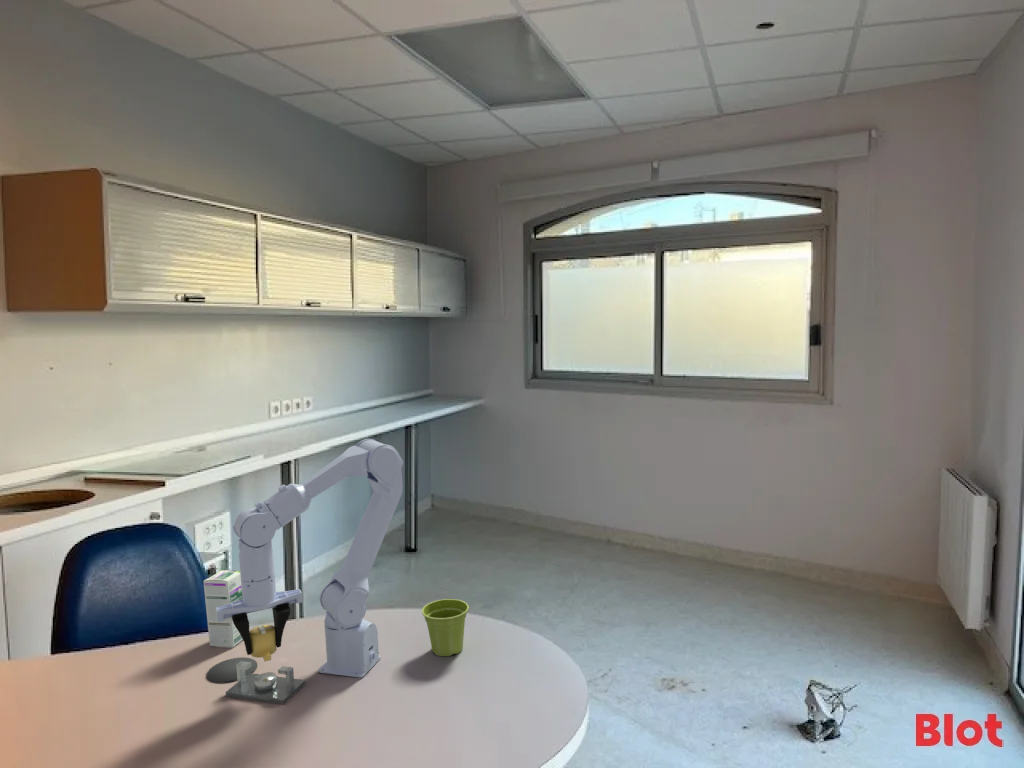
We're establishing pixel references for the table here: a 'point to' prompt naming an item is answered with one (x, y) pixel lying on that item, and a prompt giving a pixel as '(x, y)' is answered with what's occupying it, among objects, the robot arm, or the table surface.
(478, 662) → the table surface
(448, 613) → the plant pot
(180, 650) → the table surface
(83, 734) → the table surface
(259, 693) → the grey plate with posts
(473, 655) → the table surface
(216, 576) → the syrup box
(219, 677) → the mat
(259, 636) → the cap
